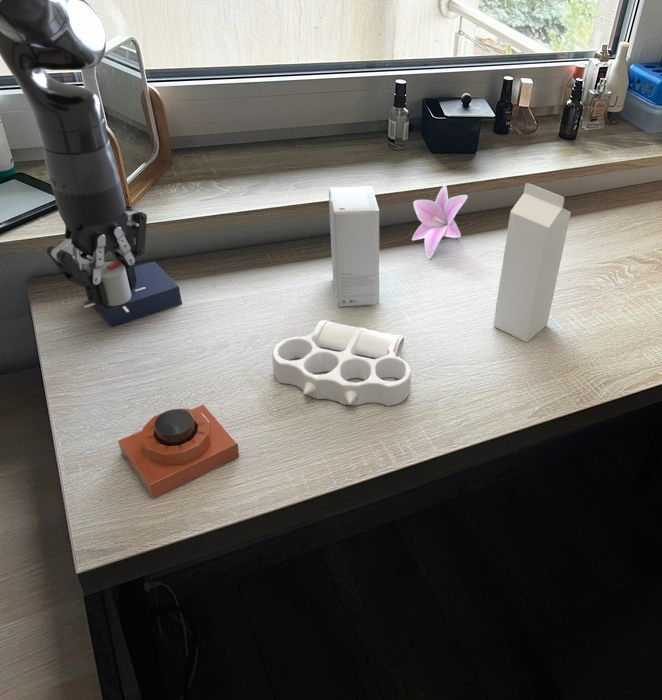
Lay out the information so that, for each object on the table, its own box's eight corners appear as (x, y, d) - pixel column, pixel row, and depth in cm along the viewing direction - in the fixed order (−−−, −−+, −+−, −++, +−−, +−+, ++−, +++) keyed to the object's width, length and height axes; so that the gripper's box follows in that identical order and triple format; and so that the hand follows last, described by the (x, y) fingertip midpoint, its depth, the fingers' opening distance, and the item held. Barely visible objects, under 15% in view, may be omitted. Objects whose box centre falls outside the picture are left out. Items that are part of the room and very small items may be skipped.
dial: (114, 309, 96) (107, 279, 93) (92, 299, 97) (84, 269, 94) (138, 295, 99) (131, 265, 96) (116, 286, 100) (109, 256, 97)
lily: (413, 226, 130) (395, 190, 122) (476, 206, 128) (462, 169, 120) (422, 278, 123) (403, 244, 115) (488, 258, 122) (473, 222, 114)
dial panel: (101, 341, 95) (96, 321, 93) (72, 304, 101) (66, 285, 99) (189, 310, 102) (185, 292, 100) (157, 278, 108) (154, 260, 106)
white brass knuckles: (425, 353, 100) (396, 425, 88) (301, 328, 102) (257, 394, 90) (427, 334, 98) (397, 404, 86) (300, 308, 99) (255, 374, 88)
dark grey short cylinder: (166, 451, 77) (164, 440, 76) (150, 430, 79) (147, 419, 78) (202, 435, 79) (200, 424, 78) (185, 415, 81) (183, 403, 80)
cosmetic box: (379, 306, 108) (382, 212, 98) (334, 308, 106) (332, 213, 96) (372, 275, 114) (374, 184, 104) (329, 277, 112) (327, 185, 103)
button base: (153, 499, 76) (146, 473, 74) (121, 454, 81) (114, 429, 78) (239, 456, 82) (236, 431, 80) (206, 417, 86) (201, 392, 84)
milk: (514, 309, 110) (537, 175, 97) (547, 325, 108) (576, 189, 95) (492, 326, 106) (513, 188, 93) (526, 343, 104) (553, 204, 90)
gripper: (56, 209, 81) (91, 331, 91) (153, 166, 91) (175, 280, 102) (9, 190, 83) (49, 311, 94) (109, 150, 93) (135, 263, 104)
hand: (114, 294), depth 98 cm, fingers closed on dial, 4 cm apart
